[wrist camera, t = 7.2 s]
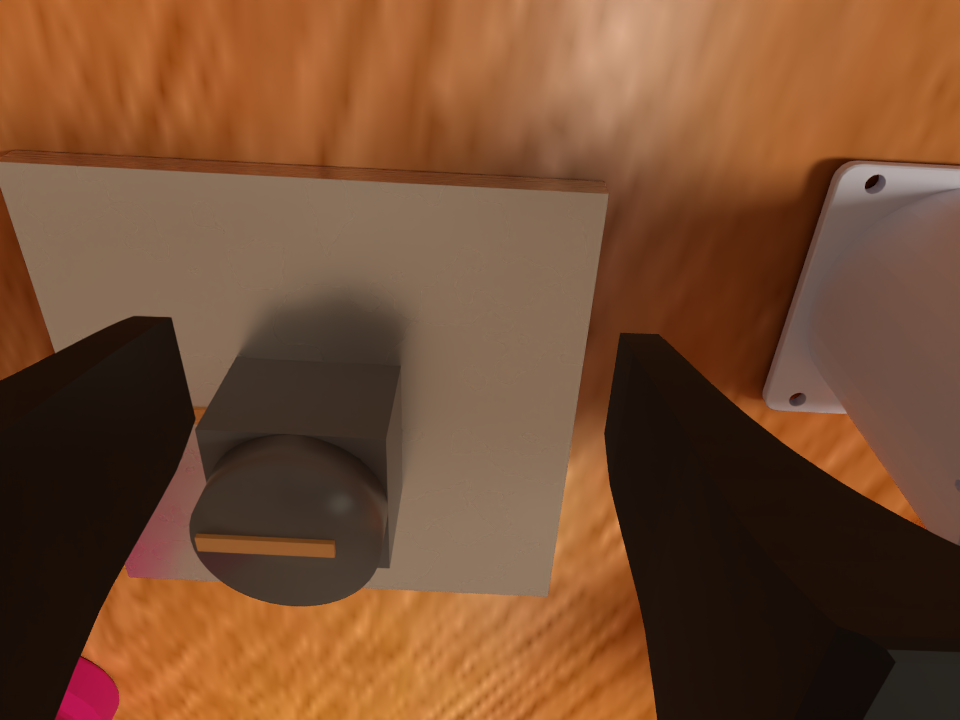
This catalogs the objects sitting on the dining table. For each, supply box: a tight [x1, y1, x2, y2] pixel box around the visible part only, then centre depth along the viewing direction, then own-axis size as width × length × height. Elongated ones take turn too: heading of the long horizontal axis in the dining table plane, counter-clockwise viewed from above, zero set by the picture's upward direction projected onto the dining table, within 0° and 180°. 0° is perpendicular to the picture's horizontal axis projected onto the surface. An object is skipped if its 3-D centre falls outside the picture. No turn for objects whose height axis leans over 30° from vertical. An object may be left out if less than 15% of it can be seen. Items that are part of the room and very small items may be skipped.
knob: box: [189, 357, 403, 606], centre depth 21 cm, size 5×5×5 cm
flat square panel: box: [0, 150, 609, 597], centre depth 22 cm, size 16×16×4 cm
